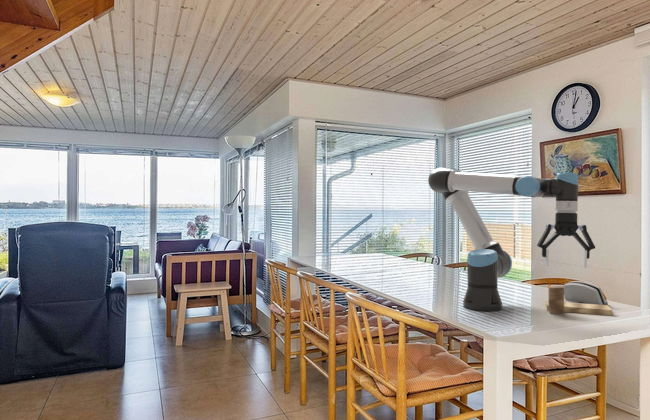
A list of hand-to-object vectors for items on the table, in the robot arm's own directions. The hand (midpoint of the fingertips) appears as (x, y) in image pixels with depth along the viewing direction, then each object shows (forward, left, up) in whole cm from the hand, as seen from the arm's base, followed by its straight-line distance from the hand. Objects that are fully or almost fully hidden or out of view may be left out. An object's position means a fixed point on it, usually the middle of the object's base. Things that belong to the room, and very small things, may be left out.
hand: (565, 266), depth 168 cm
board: (+5, +4, -18) cm, 19 cm away
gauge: (-3, +3, -18) cm, 18 cm away
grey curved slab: (+10, +23, -18) cm, 31 cm away
